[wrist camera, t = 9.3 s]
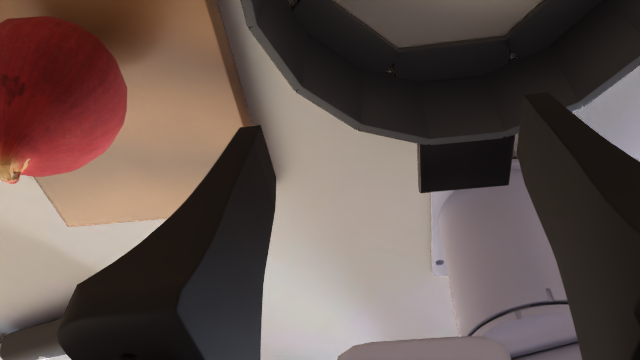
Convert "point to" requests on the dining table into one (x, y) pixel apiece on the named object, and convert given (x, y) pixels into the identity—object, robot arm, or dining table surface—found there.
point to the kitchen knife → (32, 343)
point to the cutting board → (150, 106)
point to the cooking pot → (449, 77)
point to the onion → (55, 97)
